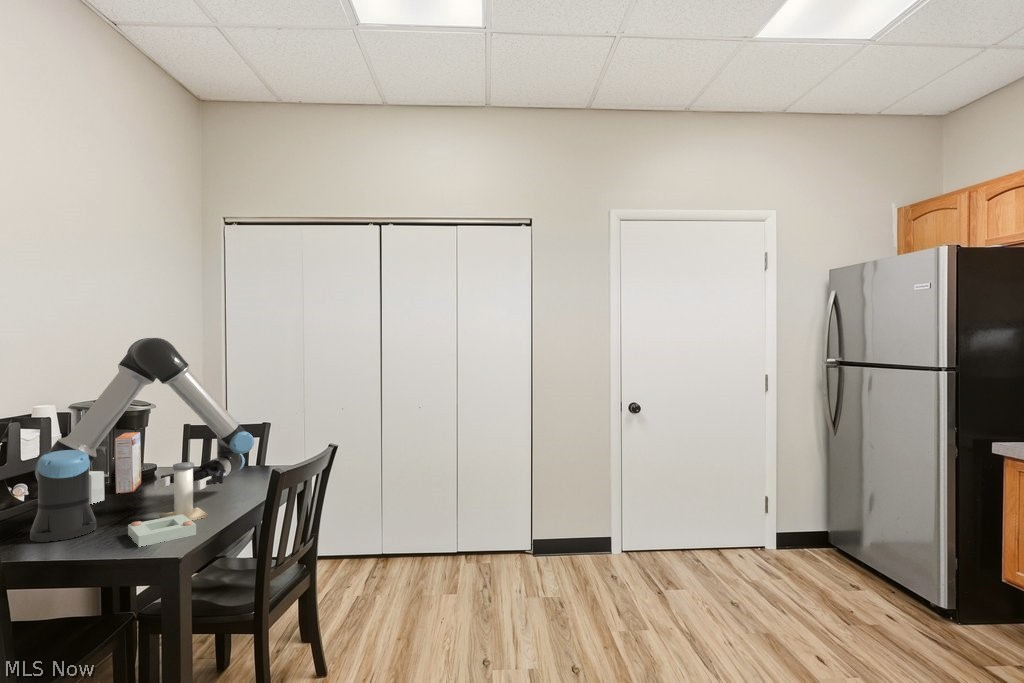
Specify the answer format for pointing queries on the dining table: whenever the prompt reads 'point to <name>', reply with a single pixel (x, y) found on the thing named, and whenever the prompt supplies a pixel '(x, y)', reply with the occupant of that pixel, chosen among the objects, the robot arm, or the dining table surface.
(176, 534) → the frame
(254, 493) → the dining table surface
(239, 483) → the dining table surface
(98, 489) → the small box
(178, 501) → the cylinder
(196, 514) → the board
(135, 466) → the cracker box
